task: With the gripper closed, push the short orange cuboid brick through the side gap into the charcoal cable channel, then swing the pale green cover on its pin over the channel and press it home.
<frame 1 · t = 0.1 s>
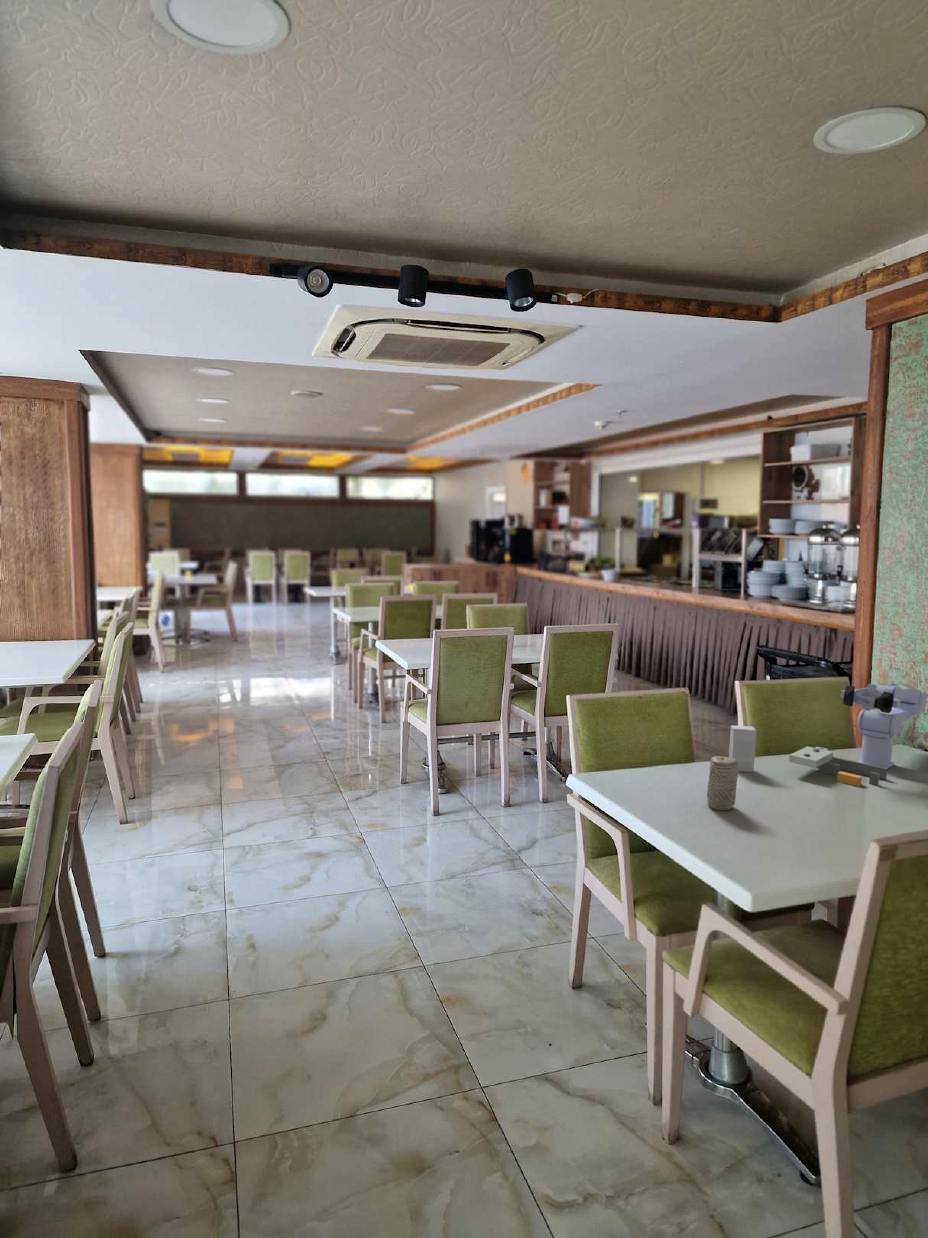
hand: (860, 700, 206), 22 cm above the table, tool horizontal, fingers open, 7 cm apart
carving: (720, 808, 183), on the table
skincare box: (740, 770, 213), on the table
cover: (812, 761, 213), point 3 cm above the table, hinge at -90.0°
orange cuboid brick: (848, 783, 205), on the table
duct: (852, 775, 212), on the table
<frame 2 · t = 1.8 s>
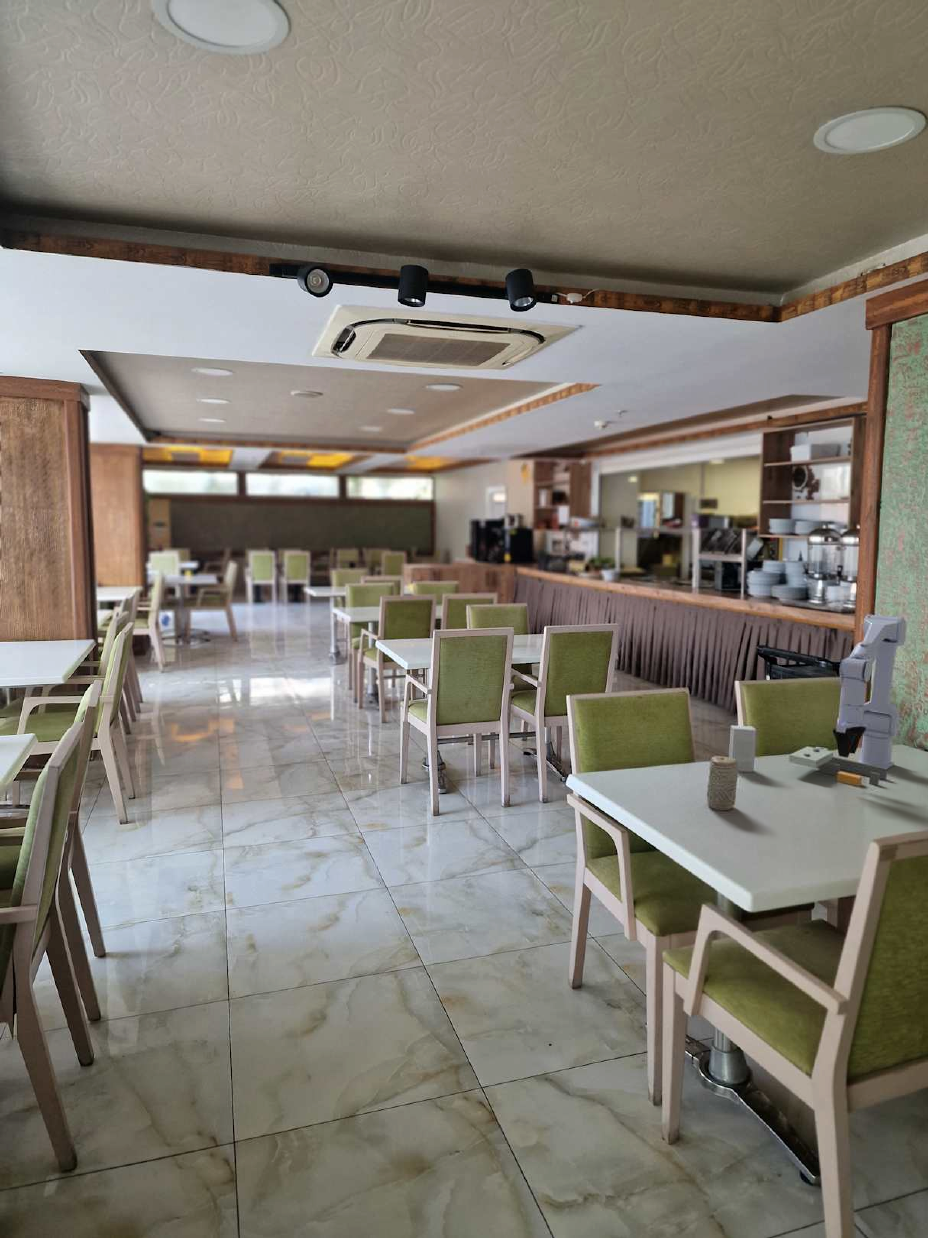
hand: (846, 754, 202), 8 cm above the table, tool pointing down, fingers open, 5 cm apart
nothing on the table moved.
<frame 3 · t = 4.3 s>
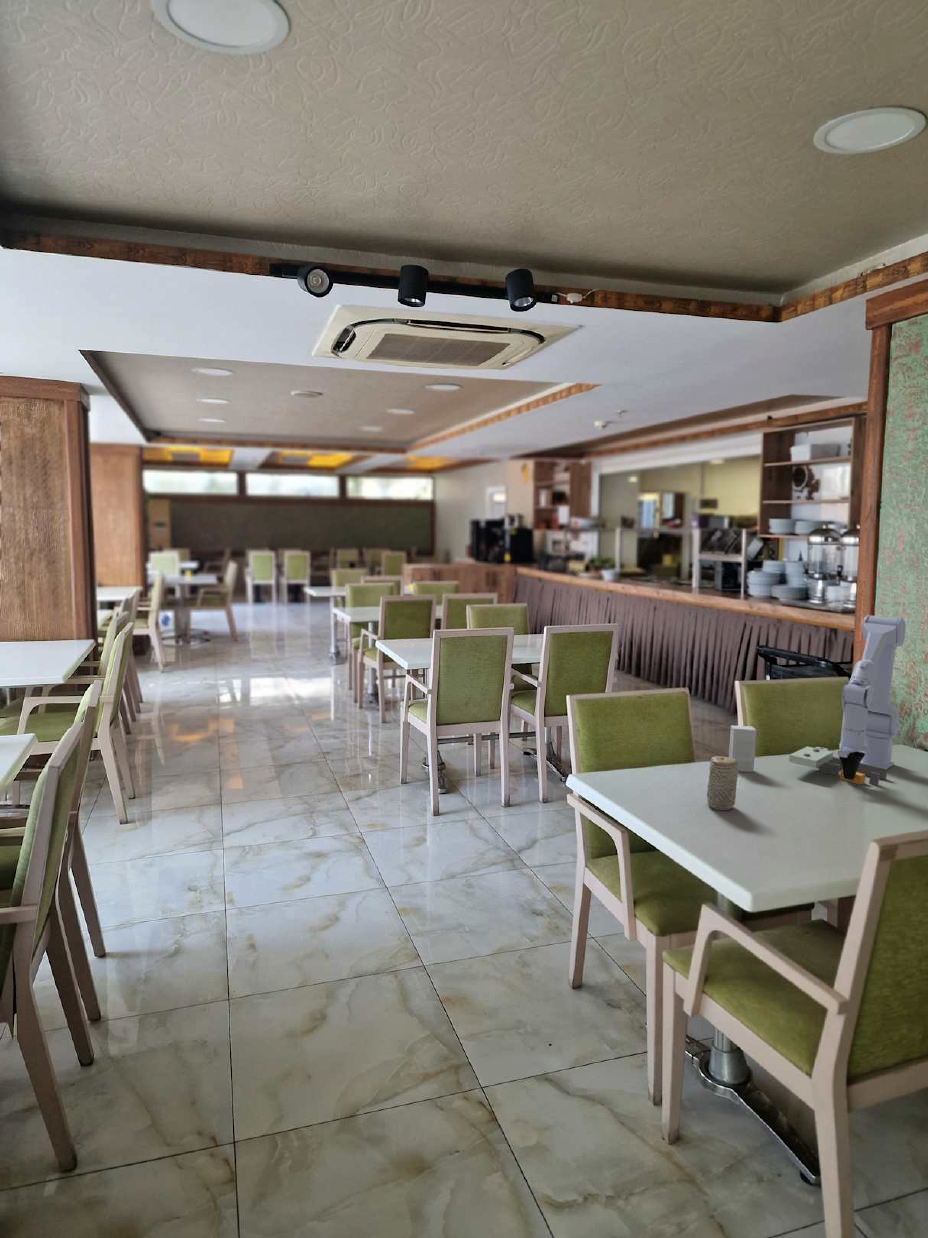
hand: (848, 778, 205), 1 cm above the table, tool pointing down, fingers closed
orange cuboid brick: (852, 781, 207), on the table, touching gripper
everything else where it was.
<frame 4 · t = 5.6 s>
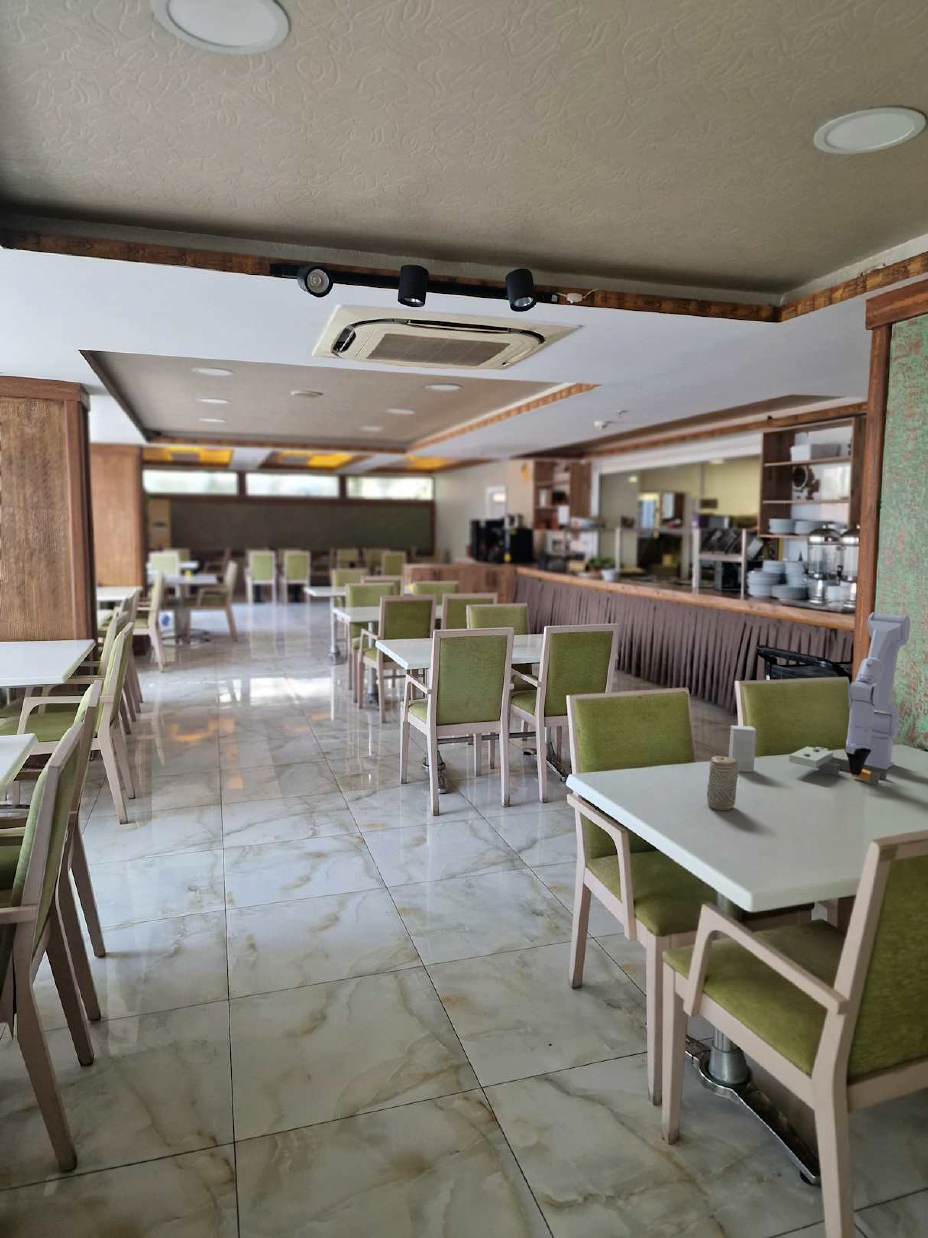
hand: (855, 774, 209), 1 cm above the table, tool pointing down, fingers closed
orange cuboid brick: (863, 779, 209), on the table
everything else where it was.
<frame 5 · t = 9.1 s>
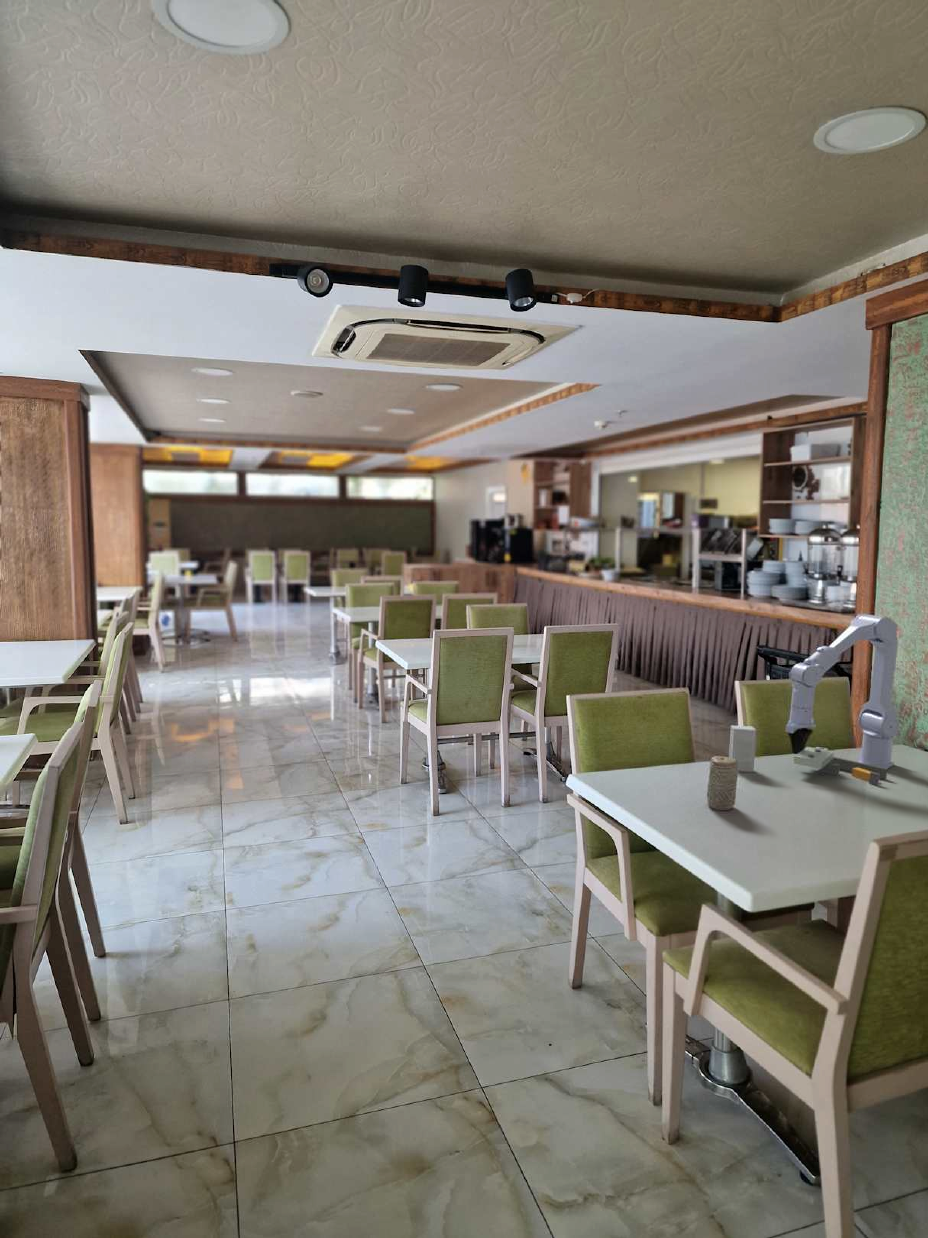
hand: (797, 753, 216), 4 cm above the table, tool pointing down, fingers closed, pressing on cover
cover: (814, 762, 212), point 3 cm above the table, hinge at -84.3°, touching gripper
everything else where it was.
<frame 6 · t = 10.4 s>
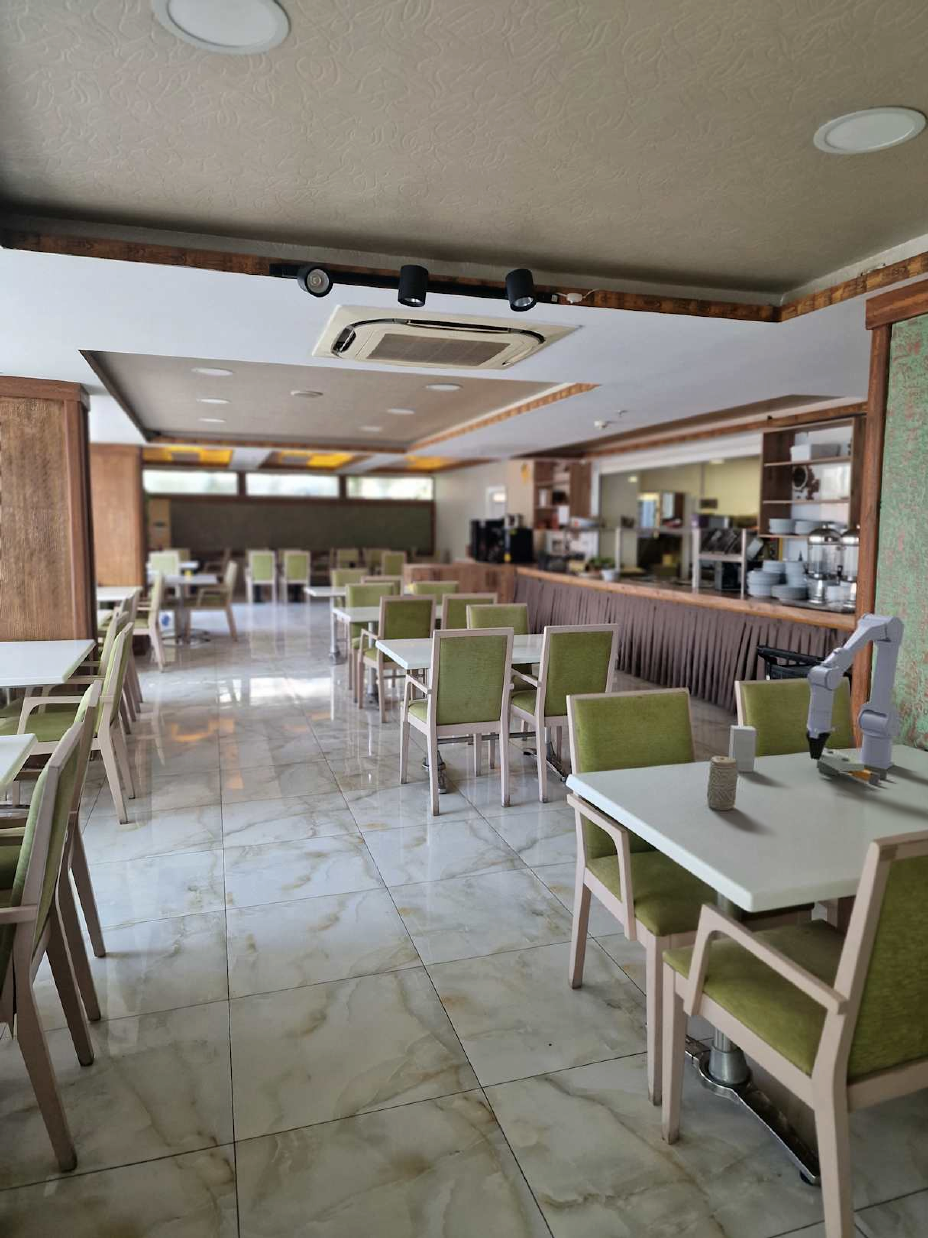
hand: (815, 758, 211), 4 cm above the table, tool pointing down, fingers closed
cover: (834, 764, 211), point 3 cm above the table, hinge at -38.5°, touching gripper
everything else where it was.
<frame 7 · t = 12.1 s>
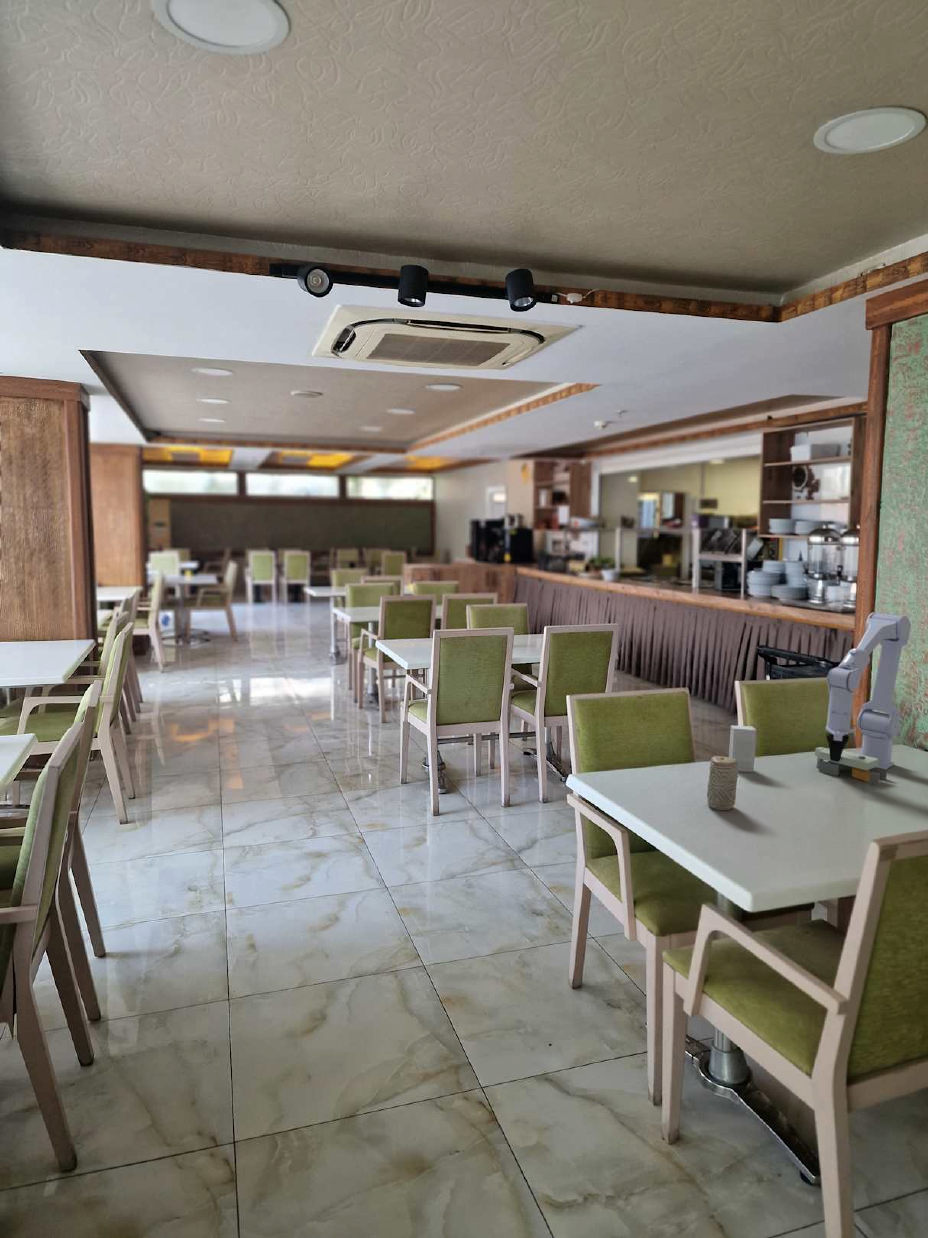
hand: (834, 760, 210), 4 cm above the table, tool pointing down, fingers closed
cover: (844, 763, 213), point 3 cm above the table, hinge at -5.2°, touching gripper
everything else where it was.
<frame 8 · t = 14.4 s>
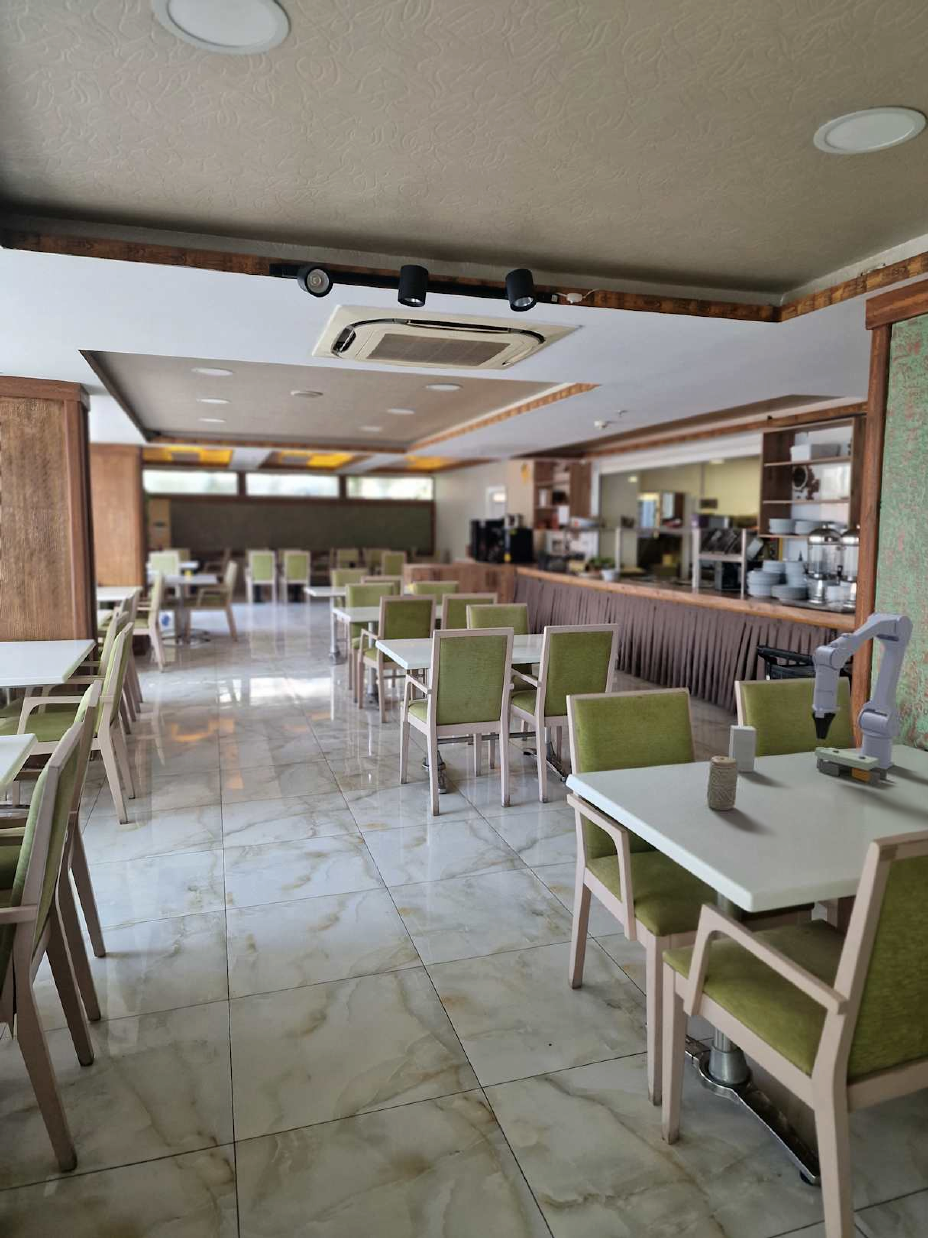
hand: (821, 738, 211), 10 cm above the table, tool pointing down, fingers closed
cover: (844, 763, 213), point 3 cm above the table, hinge at -5.1°
everything else where it was.
at the end: orange cuboid brick inside the target area (3.0 cm from its centre), on the table; cover at -5° (first picture: -90°) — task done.
